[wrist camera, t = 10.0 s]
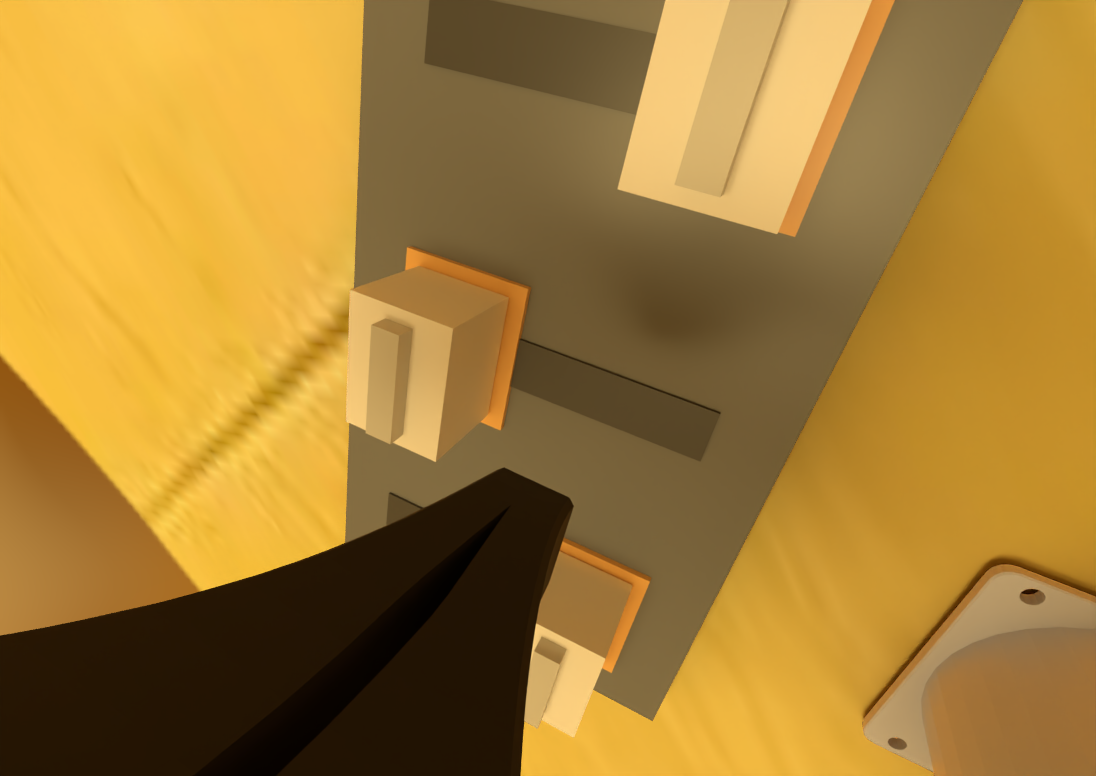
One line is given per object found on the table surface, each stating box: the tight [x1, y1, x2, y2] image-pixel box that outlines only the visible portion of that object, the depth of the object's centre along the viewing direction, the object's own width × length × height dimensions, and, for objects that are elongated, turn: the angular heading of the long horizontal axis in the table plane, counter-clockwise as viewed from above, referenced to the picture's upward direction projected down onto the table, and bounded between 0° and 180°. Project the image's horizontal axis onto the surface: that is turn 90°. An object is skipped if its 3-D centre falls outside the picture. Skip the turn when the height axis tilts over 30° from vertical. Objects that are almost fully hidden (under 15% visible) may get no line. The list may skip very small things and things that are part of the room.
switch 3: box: [618, 0, 872, 234], centre depth 10 cm, size 3×4×4 cm
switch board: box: [345, 0, 1023, 721], centre depth 17 cm, size 14×24×2 cm, turn 169°
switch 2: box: [524, 551, 633, 738], centre depth 18 cm, size 3×4×4 cm
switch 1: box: [346, 266, 509, 462], centre depth 16 cm, size 3×4×4 cm
